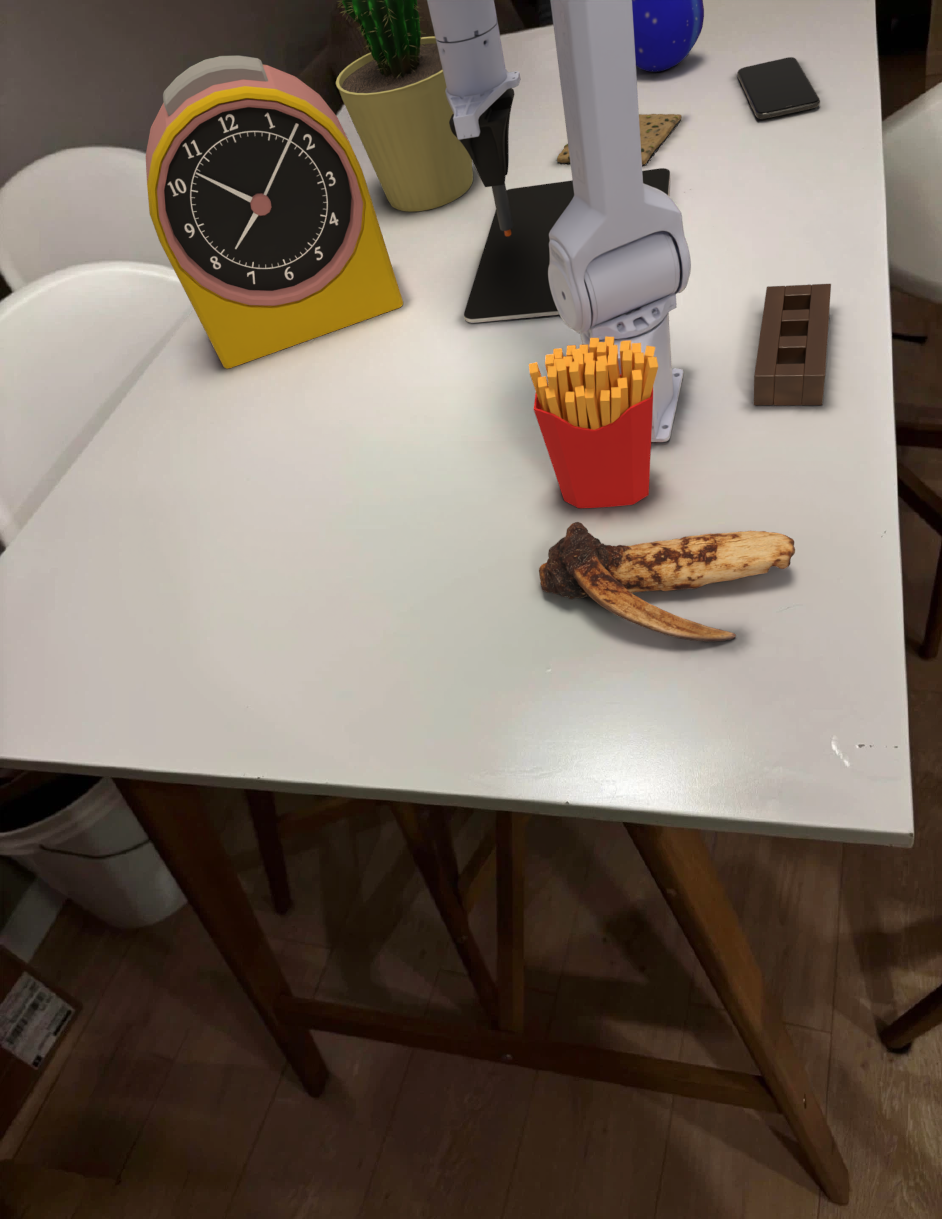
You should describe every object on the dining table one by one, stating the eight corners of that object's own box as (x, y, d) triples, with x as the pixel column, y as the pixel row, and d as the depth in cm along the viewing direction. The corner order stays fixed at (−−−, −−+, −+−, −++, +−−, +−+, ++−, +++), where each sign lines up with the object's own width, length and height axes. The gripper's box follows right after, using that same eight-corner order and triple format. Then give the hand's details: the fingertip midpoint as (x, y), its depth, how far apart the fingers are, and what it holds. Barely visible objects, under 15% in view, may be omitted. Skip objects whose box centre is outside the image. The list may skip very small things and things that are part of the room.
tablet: (502, 189, 108) (670, 166, 102) (503, 194, 109) (670, 172, 103) (462, 319, 92) (659, 300, 86) (463, 325, 92) (659, 307, 87)
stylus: (513, 237, 94) (496, 150, 87) (500, 239, 94) (483, 152, 87) (515, 230, 94) (499, 144, 88) (502, 232, 95) (485, 146, 88)
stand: (828, 313, 80) (831, 283, 78) (822, 405, 73) (825, 375, 71) (765, 315, 82) (766, 286, 80) (753, 405, 75) (754, 376, 73)
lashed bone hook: (539, 659, 63) (806, 641, 59) (526, 621, 60) (810, 597, 55) (544, 559, 69) (788, 535, 65) (532, 518, 65) (790, 490, 61)
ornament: (714, 55, 121) (712, -77, 110) (675, 85, 118) (669, -48, 107) (646, 51, 127) (638, -75, 116) (608, 79, 124) (595, -48, 113)
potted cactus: (509, 159, 115) (456, -132, 92) (455, 222, 107) (382, -79, 85) (409, 159, 122) (337, -112, 99) (351, 218, 114) (259, -61, 92)
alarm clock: (223, 370, 97) (95, 119, 77) (217, 329, 103) (97, 87, 84) (404, 305, 97) (322, 39, 78) (388, 268, 103) (307, 13, 84)
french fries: (551, 511, 72) (523, 379, 62) (555, 475, 75) (529, 343, 65) (667, 503, 70) (657, 365, 60) (667, 466, 72) (657, 328, 63)
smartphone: (735, 75, 116) (756, 122, 106) (735, 68, 115) (757, 114, 105) (795, 61, 114) (822, 108, 105) (795, 54, 114) (822, 100, 104)
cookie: (683, 117, 111) (683, 109, 110) (645, 165, 105) (645, 157, 105) (596, 117, 117) (595, 109, 116) (555, 162, 111) (554, 155, 110)
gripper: (497, 53, 74) (525, 210, 84) (520, -9, 83) (543, 140, 93) (417, 68, 76) (454, 220, 86) (448, 6, 85) (478, 150, 95)
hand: (496, 179), depth 90 cm, fingers closed on stylus, 1 cm apart
